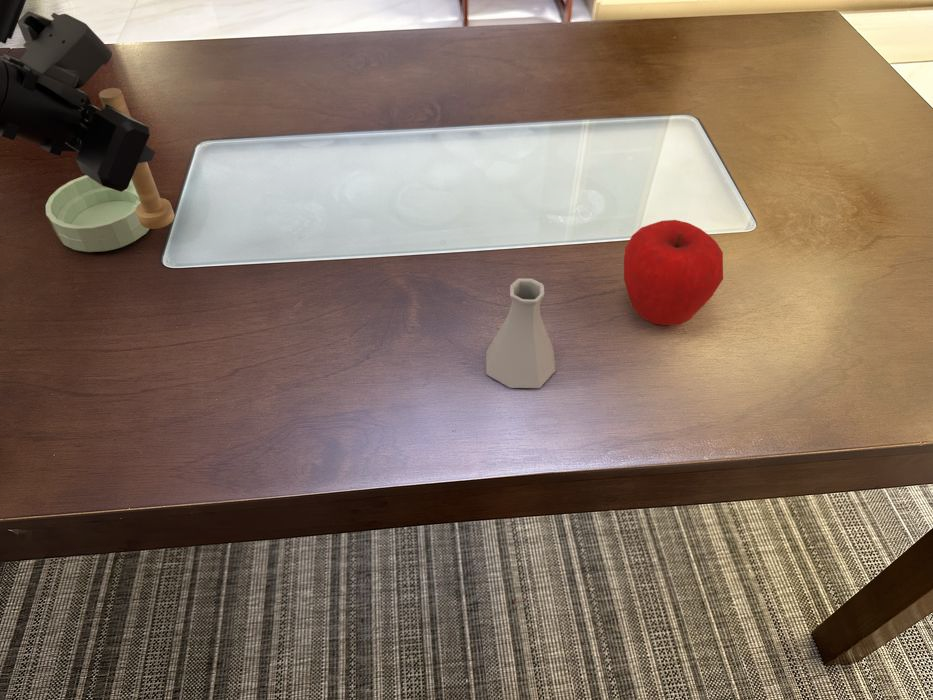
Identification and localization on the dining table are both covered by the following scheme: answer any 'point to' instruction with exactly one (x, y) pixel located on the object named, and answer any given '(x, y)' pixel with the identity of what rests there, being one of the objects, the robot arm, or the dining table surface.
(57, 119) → the robot arm
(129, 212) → the bowl
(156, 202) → the tan wooden rod
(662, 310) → the apple
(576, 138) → the dining table surface
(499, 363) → the flask
